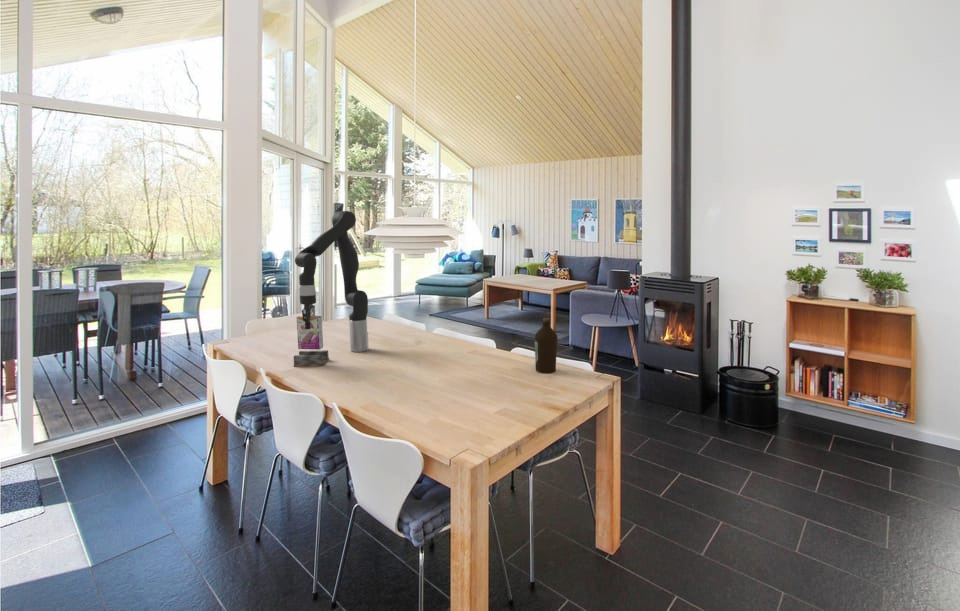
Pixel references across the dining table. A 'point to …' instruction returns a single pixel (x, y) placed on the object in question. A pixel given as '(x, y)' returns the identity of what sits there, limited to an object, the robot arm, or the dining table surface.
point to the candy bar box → (310, 333)
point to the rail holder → (311, 358)
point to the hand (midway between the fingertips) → (309, 327)
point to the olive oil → (545, 348)
